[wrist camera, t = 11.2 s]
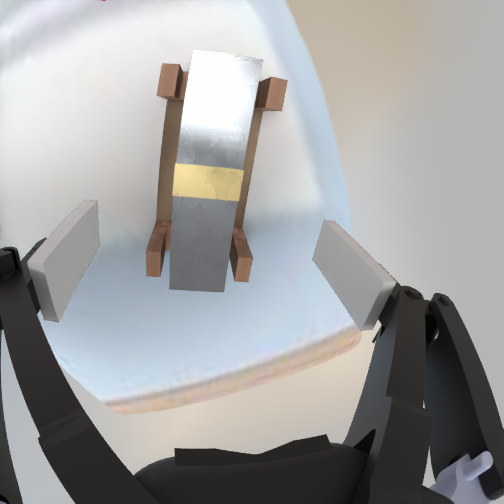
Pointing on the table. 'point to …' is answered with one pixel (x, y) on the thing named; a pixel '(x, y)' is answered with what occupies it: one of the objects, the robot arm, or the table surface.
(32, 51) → the table surface
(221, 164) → the grey metal bar
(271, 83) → the stove stand
